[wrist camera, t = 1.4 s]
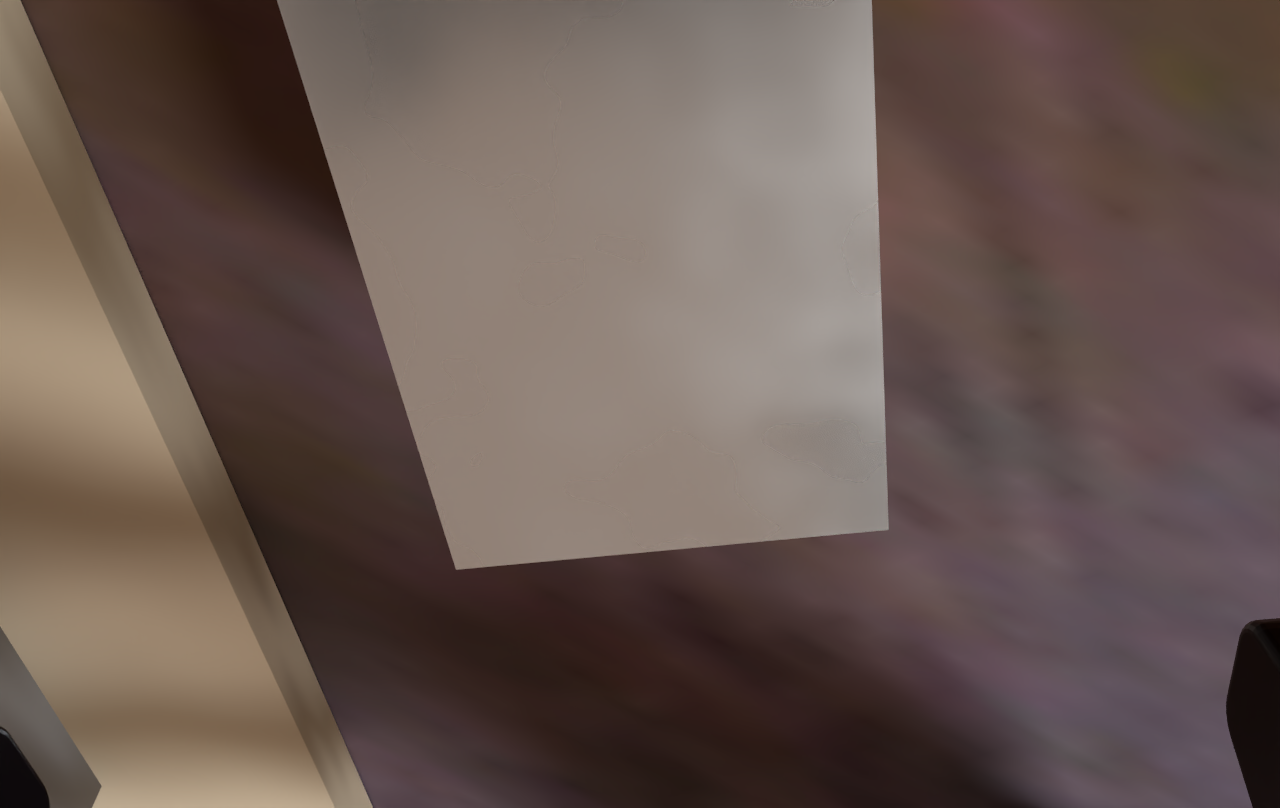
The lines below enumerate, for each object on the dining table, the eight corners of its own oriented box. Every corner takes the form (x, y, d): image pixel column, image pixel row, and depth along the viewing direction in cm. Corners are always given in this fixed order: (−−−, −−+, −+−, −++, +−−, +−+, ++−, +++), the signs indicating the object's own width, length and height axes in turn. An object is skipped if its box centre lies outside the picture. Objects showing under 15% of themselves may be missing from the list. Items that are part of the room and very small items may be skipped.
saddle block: (838, 301, 21) (888, 529, 16) (503, 338, 22) (455, 569, 17) (805, -279, 16) (864, -196, 11) (368, -209, 17) (244, -102, 12)
